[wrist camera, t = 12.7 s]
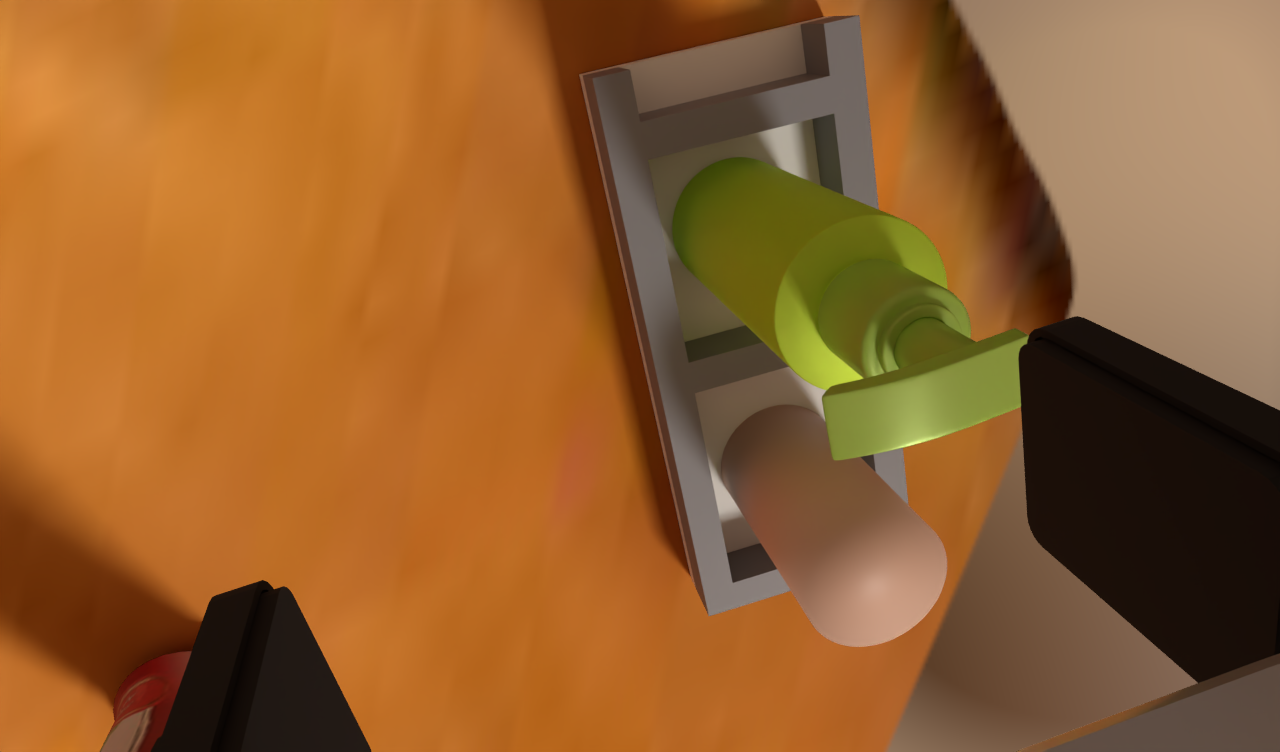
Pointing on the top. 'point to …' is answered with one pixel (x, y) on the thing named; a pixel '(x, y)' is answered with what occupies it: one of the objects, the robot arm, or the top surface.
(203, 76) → the top surface
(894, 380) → the soap dispenser
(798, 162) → the rail
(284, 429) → the top surface
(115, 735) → the liquor
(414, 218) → the top surface
